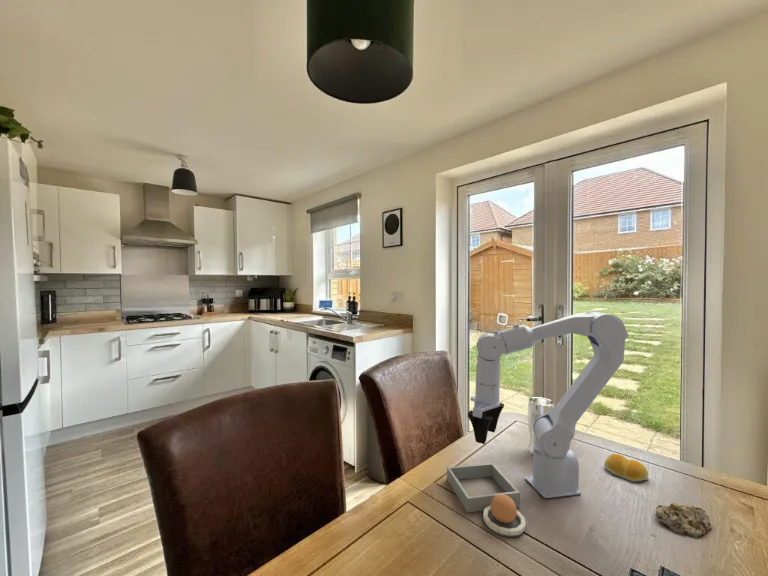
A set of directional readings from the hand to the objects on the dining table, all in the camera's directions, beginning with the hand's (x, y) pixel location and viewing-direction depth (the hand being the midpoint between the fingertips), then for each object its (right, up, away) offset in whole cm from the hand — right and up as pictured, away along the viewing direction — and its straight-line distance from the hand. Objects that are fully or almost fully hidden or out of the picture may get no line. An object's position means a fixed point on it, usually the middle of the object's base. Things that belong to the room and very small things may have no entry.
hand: (485, 436), depth 85 cm
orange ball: (-1, -8, -15) cm, 17 cm away
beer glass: (+19, -10, +13) cm, 26 cm away
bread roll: (+37, -11, +3) cm, 39 cm away
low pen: (-3, -11, -5) cm, 12 cm away
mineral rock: (+36, -12, -15) cm, 41 cm away
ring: (-1, -11, -15) cm, 19 cm away
